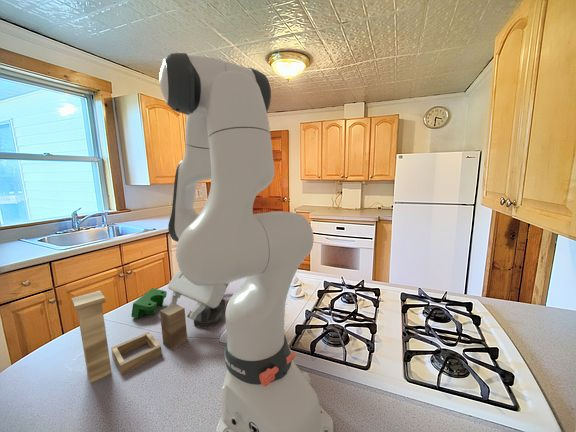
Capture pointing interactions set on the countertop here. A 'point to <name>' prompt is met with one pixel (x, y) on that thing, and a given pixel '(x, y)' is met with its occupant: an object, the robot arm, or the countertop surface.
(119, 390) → the countertop surface
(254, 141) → the robot arm
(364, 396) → the countertop surface
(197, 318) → the zipper pull
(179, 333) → the wooden block
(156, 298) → the clamp
